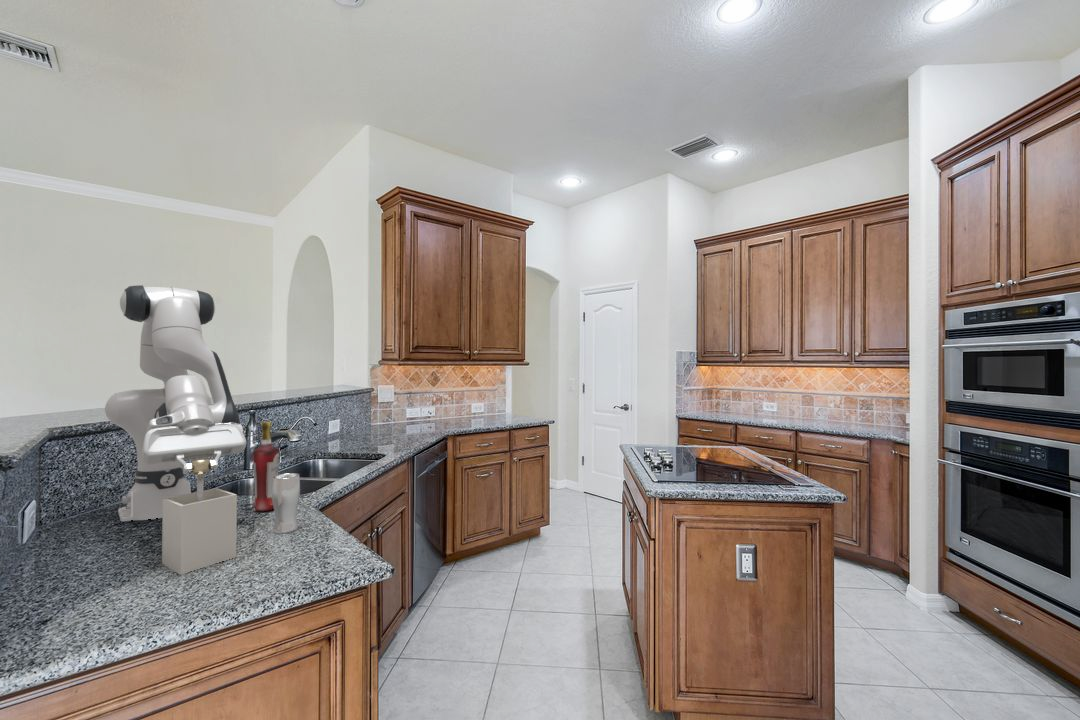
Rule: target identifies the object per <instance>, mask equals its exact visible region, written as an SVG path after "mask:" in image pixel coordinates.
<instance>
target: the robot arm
mask: <svg viewBox="0 0 1080 720" xmlns="http://www.w3.org/2000/svg"><path fill="white" fill-rule="evenodd" d="M119 307H120V311H121V312H122V313H123V316H124V317H126V319H128V320H130V321H134V322H138V323H143V324H142V327H141V328H142V329H141V334H140V346H139V349H140V350H139V368H140V370H141V371H142V373H144V374H145V375H147V376H149V377H152V378H155V379H157V380H160V381H162V382H163V385H164V387H163V388H152V389H151V388H150V389H148V388H145V389H144V388H143V389H130V390H126V391H125V390H124V391H121V392H116V393H114V394H112V395H111V396H110V397H109V398H108V400H107V401H106V402H105V403H106V404H105V405H104V406H105V407H104V411H105V416H106V417H107V419H108V420H109V421H110V422H111V423H112V424H114V425H115V426H116V427H119V428H121V429H123V430H124V431H125V432H126V433H128V434H129V435H130V437H131V439H132V440H133V442H134V444H135V448H136V455H137V470H136V471H135V475H134V482H135V483H134V485H133V486H132V487H131V488H130V490H129V491H128V493H127V494H126V495H122V496H121V503H122V504H126V506H123V507H119V508H118V510H117V513H118V517H119V520H120V522H131V520H133V521H149V520H148V519H151V520H157V519H156V518H158V519H162V518H163V498H168V497H173V496H178V495H183V494H189V493H192V492H191V491H192V490H191V483H190V481H189V480H187V479H186V478H185V476H186V475H187V474H191V473H192V463H191V462H190V463H187V462H186V461H188V460H194V459H201V458H210V457H211V458H212V460H210V471H215V470H218V469H219V461H220V460H221V456H228V455H237V454H242V453H244V451H245V450H246V448H247V438H246V436H245V434H244V429H243V428H244V427H243V426H242V424H241V418H240V414H239V412H238V408H237V406H236V405H235V402H234V400H233V396H232V393H231V390H230V387H229V383H228V380H227V376H226V374H225V370H224V367H223V365H222V362H221V359H220V357H219V355H218V353H217V352H215V351H213V350H211V349H210V348H209V347H208V346H207V345H206V343H205V340H204V338H203V331H202V330H203V329H202V326H203V325H206V324H208V323H209V322H211V321H212V320H213V318H214V316H215V313H216V305H215V302H214V298H213V296H212V295H211V294H209V293H208V292H205V291H201V290H193V289H192V290H191V289H186V288H180V287H172V286H170V287H168V286H144V285H143V284H142V285H130V286H128V287H126V288H124V291H123V292H122V294H121V296H120V299H119ZM188 371H190V372H194V373H195V374H198V375H200V376H201V377H203V378H204V379H205V380H206V382H207V385H208V388H209V392H210V394H208V392H207V388H206V386H205V384H204V382H203V380H202V379H201V378H200V377H198V376H196V375H193V374H189V372H188ZM212 402H213V404H212Z"/></svg>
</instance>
